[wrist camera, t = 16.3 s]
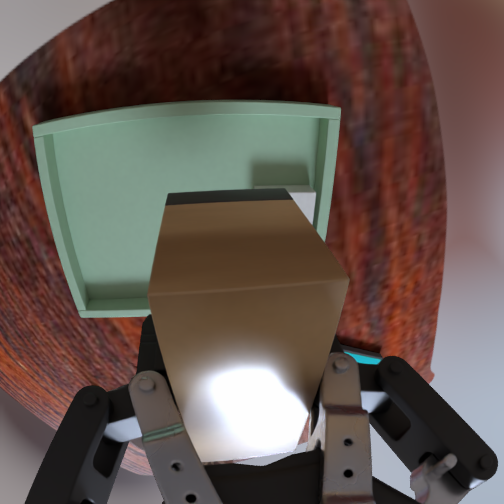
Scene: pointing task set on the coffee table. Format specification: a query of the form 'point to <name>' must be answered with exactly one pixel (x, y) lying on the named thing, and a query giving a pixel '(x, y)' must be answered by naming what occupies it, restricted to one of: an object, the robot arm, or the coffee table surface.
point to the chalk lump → (299, 197)
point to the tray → (166, 180)
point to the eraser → (243, 317)
